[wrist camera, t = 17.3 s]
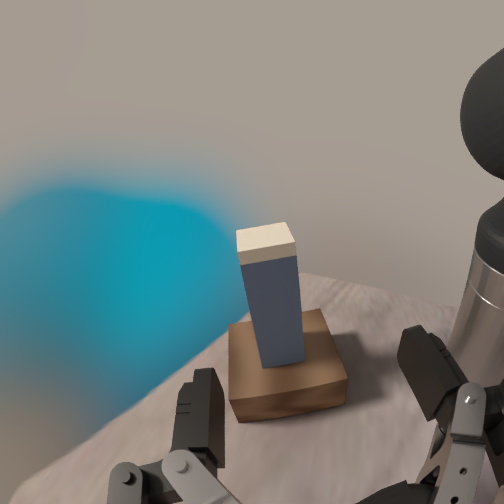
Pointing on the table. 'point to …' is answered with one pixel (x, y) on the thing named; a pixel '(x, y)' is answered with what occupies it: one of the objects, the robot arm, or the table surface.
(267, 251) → the carton
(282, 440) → the table surface
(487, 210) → the robot arm
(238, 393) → the display plinth
